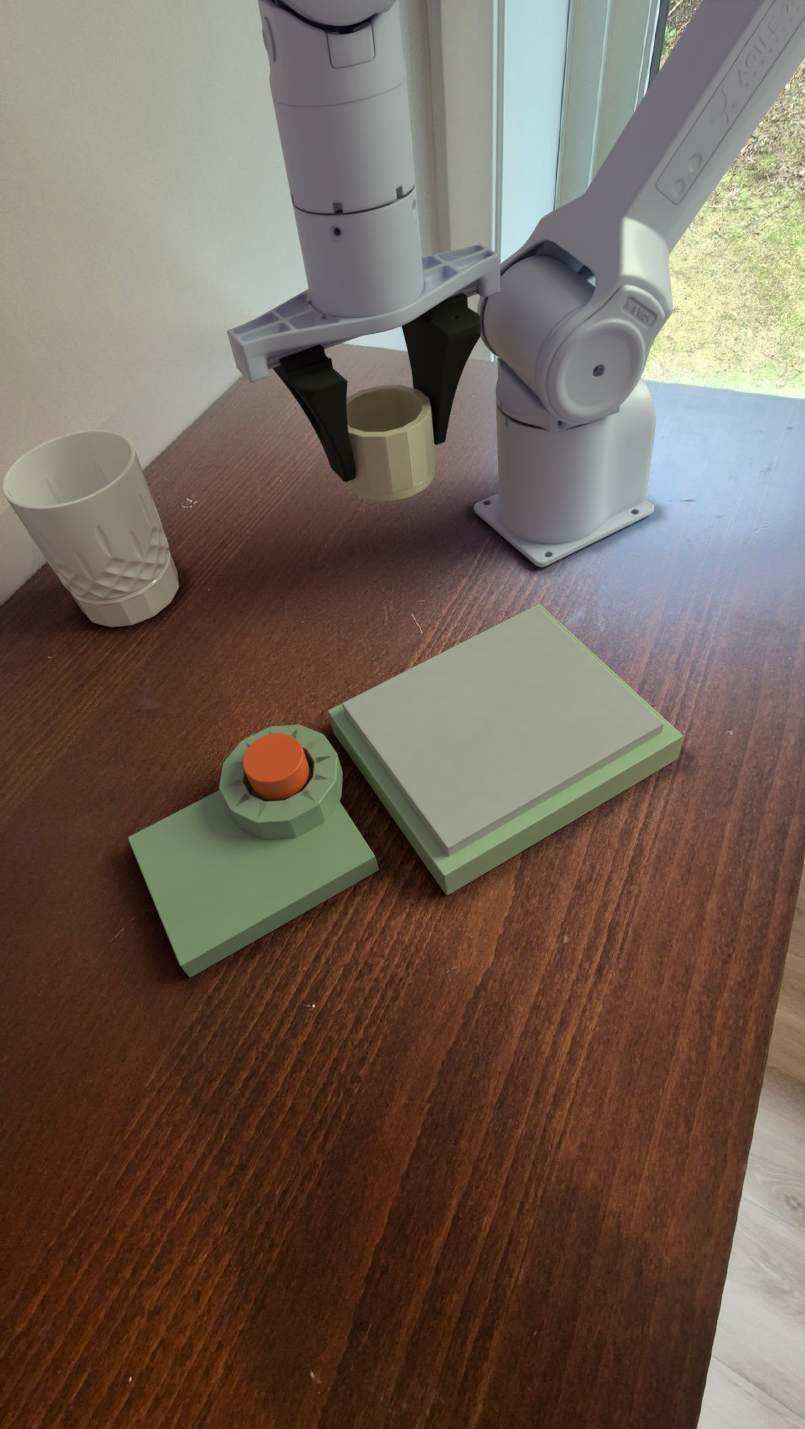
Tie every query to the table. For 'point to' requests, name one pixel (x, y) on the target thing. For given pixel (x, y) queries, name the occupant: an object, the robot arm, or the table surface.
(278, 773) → the button
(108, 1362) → the table surface
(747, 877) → the table surface
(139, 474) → the white cup
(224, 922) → the block
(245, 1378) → the table surface
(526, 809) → the scale
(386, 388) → the beige cup
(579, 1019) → the table surface
